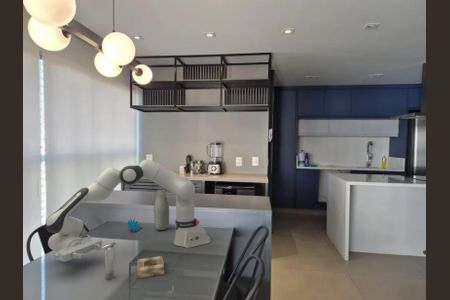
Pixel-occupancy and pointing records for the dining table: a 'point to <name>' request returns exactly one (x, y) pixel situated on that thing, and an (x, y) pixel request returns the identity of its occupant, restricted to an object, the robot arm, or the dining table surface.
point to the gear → (133, 225)
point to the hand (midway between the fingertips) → (91, 252)
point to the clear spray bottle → (109, 261)
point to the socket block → (150, 267)
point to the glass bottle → (161, 211)
